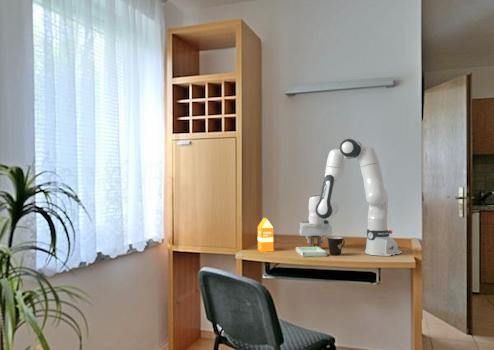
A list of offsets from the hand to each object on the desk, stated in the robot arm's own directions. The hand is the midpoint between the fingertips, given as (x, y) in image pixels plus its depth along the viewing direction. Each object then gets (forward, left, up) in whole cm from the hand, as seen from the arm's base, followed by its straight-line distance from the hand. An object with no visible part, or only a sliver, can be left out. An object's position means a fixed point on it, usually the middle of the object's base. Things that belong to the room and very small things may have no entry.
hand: (315, 242), depth 267 cm
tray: (+13, +11, -4) cm, 17 cm away
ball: (0, 0, -2) cm, 2 cm away
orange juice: (+30, -12, -4) cm, 32 cm away
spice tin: (0, 0, -4) cm, 4 cm away
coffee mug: (+2, +22, -4) cm, 23 cm away
